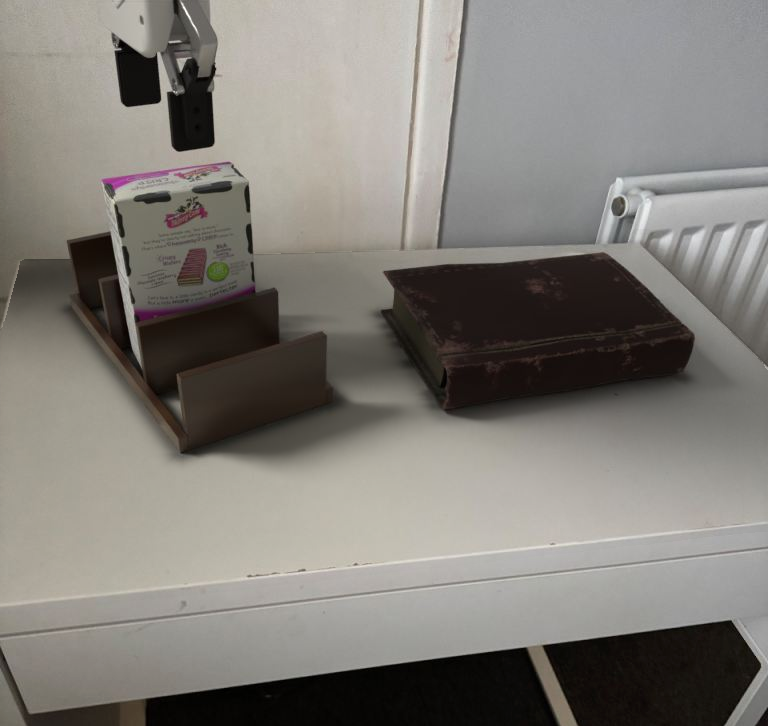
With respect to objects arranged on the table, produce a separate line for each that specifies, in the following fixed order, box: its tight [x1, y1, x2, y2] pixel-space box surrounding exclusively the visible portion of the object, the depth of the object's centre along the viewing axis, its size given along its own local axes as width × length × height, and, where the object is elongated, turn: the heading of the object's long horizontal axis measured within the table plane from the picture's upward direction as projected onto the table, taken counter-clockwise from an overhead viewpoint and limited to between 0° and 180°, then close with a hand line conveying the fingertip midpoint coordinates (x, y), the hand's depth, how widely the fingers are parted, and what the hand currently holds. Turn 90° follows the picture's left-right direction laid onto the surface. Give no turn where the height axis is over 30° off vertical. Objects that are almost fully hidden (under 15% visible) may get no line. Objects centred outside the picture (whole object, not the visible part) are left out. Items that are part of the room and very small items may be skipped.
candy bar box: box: [100, 161, 257, 370], centre depth 73 cm, size 11×5×16 cm, turn 118°
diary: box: [380, 251, 696, 411], centre depth 81 cm, size 19×25×5 cm
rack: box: [66, 231, 335, 453], centre depth 76 cm, size 26×15×7 cm, turn 34°
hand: (166, 125), depth 64 cm, fingers open, 9 cm apart
